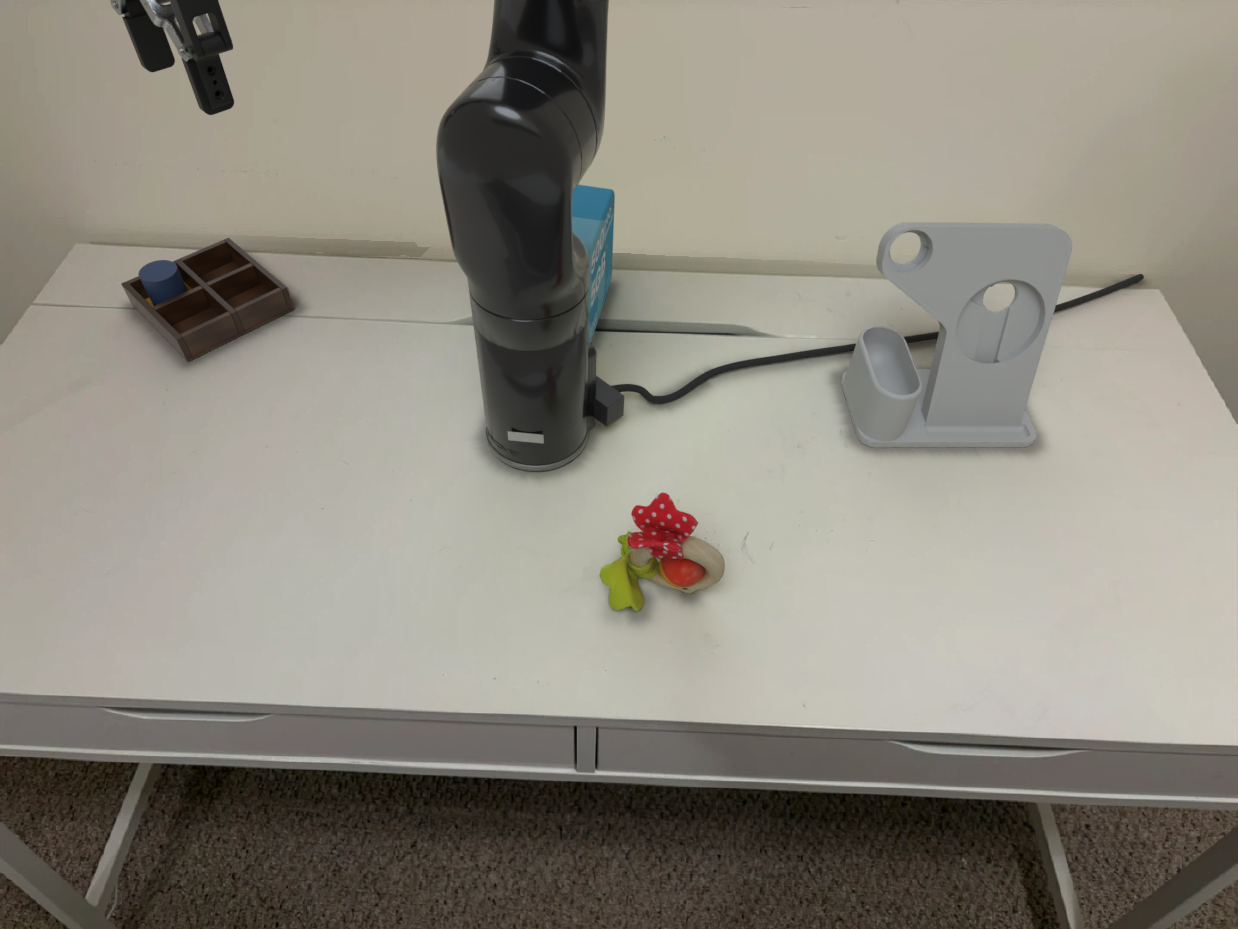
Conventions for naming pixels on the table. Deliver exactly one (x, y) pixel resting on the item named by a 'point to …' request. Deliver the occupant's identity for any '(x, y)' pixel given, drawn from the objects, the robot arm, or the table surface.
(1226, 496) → the table surface
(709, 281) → the table surface
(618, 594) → the bird rattle
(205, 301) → the grid
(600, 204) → the data package
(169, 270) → the blue cylinder
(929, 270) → the phone holder
